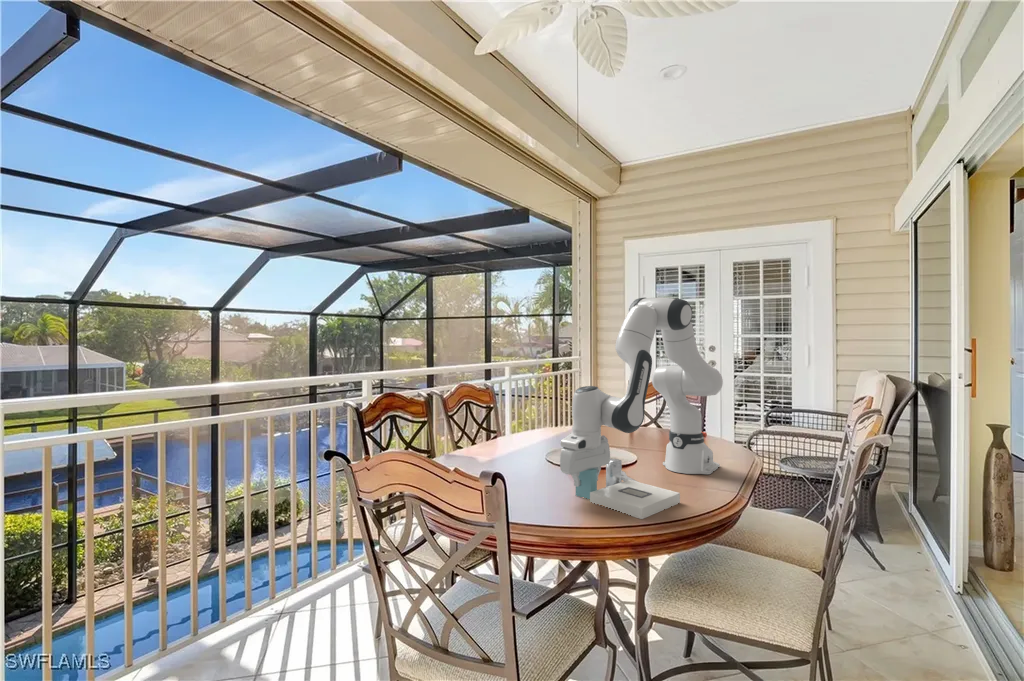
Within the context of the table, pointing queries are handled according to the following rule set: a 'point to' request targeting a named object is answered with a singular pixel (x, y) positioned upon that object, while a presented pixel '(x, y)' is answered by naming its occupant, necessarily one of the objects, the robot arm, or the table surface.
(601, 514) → the table surface
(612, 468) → the round peg
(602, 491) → the socket plate
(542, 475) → the table surface
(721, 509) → the table surface
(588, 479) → the flat bar
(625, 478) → the adjustable wrench
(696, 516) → the table surface
